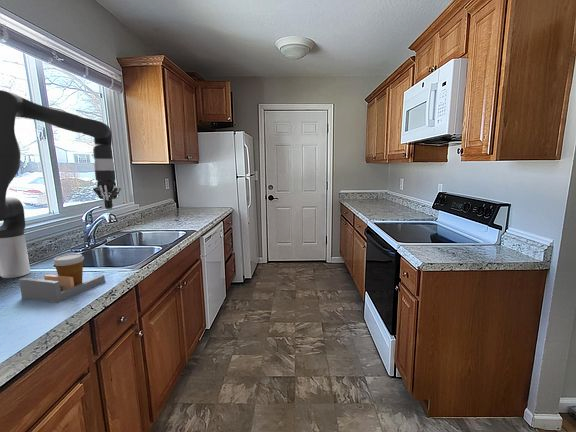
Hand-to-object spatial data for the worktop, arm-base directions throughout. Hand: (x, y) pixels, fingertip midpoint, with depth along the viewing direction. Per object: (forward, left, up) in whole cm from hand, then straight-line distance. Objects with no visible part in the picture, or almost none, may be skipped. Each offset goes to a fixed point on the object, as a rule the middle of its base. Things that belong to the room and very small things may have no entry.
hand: (109, 208), depth 133 cm
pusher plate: (+2, -29, -27) cm, 39 cm away
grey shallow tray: (+2, -25, -27) cm, 37 cm away
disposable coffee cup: (+2, -23, -27) cm, 36 cm away
